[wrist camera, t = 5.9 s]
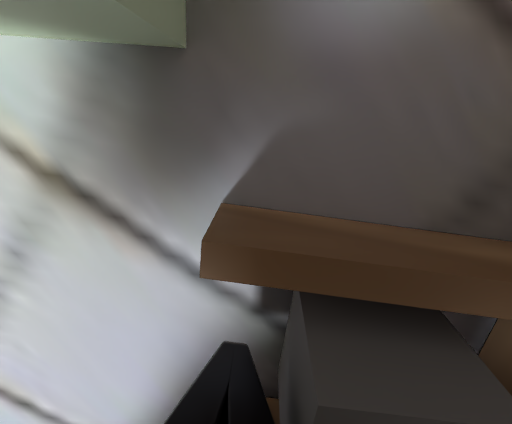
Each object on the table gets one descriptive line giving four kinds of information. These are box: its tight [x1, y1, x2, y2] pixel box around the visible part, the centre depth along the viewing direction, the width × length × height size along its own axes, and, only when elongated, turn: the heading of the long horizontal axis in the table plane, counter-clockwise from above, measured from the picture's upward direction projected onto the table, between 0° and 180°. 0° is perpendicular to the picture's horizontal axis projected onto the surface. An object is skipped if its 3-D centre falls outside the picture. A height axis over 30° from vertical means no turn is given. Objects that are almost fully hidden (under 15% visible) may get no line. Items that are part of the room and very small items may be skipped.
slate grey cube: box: [278, 291, 512, 424], centre depth 8 cm, size 4×4×4 cm
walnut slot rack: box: [200, 203, 512, 424], centre depth 6 cm, size 21×10×2 cm, turn 173°
